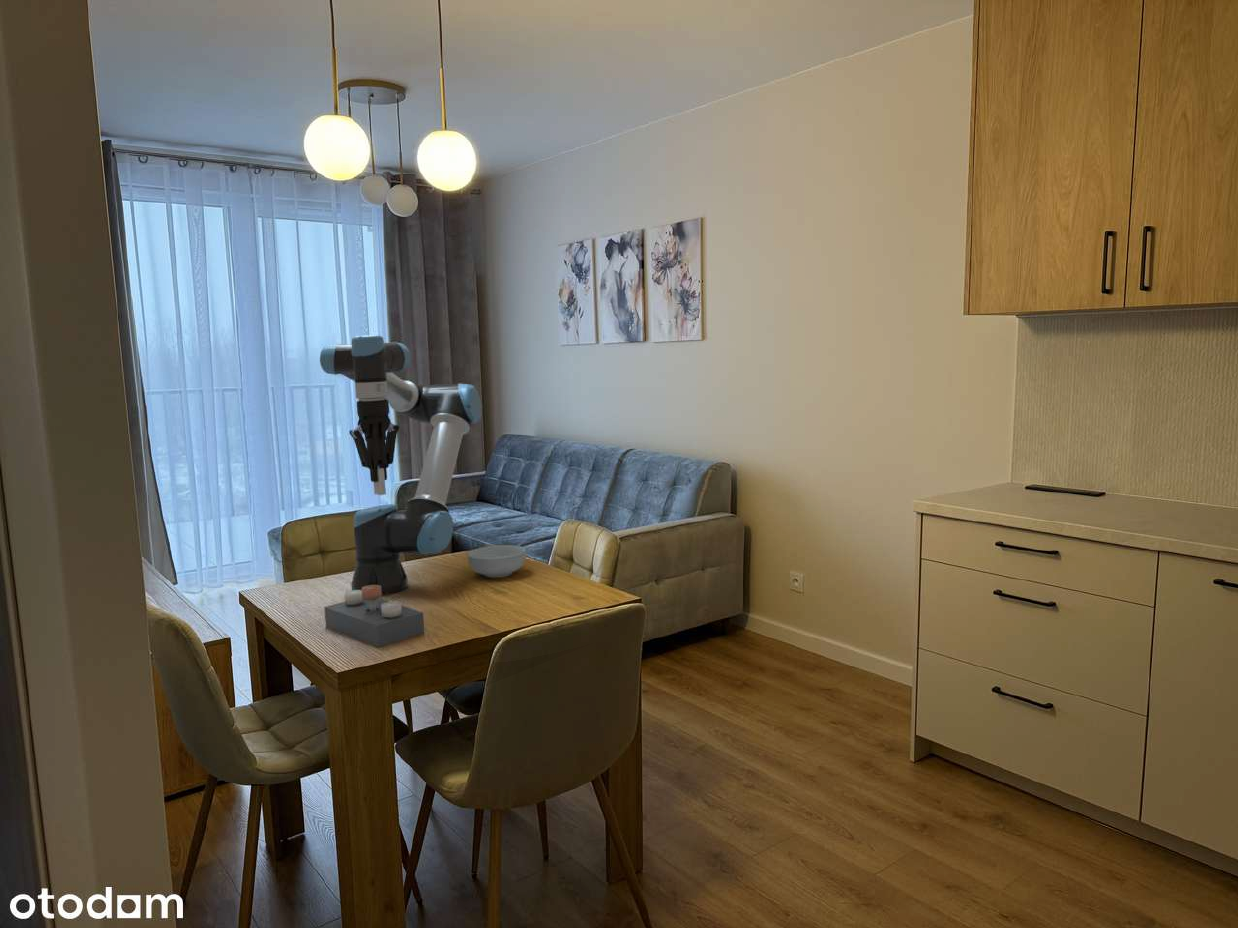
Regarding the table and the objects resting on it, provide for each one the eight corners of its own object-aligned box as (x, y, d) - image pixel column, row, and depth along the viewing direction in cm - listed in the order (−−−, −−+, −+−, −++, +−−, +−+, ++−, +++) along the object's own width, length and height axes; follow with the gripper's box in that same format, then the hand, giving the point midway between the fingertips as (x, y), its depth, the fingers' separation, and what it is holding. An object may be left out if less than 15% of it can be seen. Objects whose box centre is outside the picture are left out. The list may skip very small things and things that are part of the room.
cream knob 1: (359, 618, 202) (357, 588, 201) (369, 621, 199) (367, 591, 198) (343, 622, 199) (340, 592, 198) (352, 626, 196) (350, 596, 195)
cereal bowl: (500, 564, 254) (499, 542, 253) (538, 572, 243) (537, 548, 242) (456, 576, 241) (455, 552, 240) (495, 585, 230) (494, 560, 229)
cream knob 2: (396, 631, 191) (394, 600, 190) (406, 634, 188) (404, 603, 187) (379, 636, 188) (377, 604, 187) (390, 639, 185) (388, 608, 184)
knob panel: (370, 614, 206) (369, 595, 205) (424, 633, 190) (422, 612, 190) (325, 627, 197) (324, 606, 196) (378, 647, 181) (377, 625, 181)
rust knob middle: (376, 613, 196) (374, 583, 195) (386, 617, 193) (384, 586, 192) (360, 618, 193) (357, 587, 192) (370, 621, 190) (368, 590, 189)
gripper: (357, 402, 193) (366, 500, 196) (403, 397, 203) (411, 491, 206) (339, 401, 197) (348, 497, 201) (386, 396, 207) (393, 488, 211)
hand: (380, 494), depth 204 cm, fingers closed
